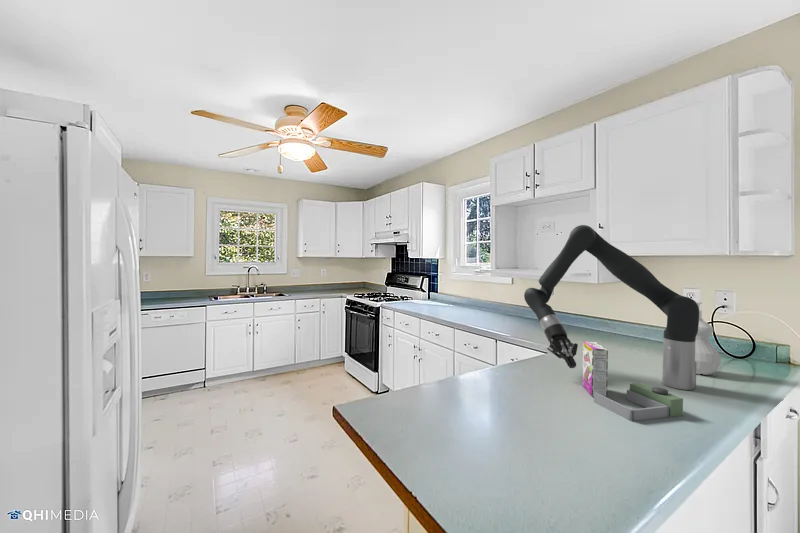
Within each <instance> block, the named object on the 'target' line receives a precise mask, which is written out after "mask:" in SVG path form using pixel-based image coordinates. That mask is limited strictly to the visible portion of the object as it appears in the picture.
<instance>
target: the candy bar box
mask: <svg viewBox="0 0 800 533" xmlns="http://www.w3.org/2000/svg"><path fill="white" fill-rule="evenodd" d="M608 353H609V349H607V348H606V347H604V346H603V345H601V344H600V343H598V342H596V341H582V380H581V381H582V383H581V385H582V387H583V388H584V389H585V390H586V392H587V393H588V394H589V396H591V397H592V398H594V393H598V394H600V395H602V396H605V397H607V398H608V369H609V367H608V364H609V362H608V361H609V360H608V358H609V356H608V355H609V354H608Z"/></svg>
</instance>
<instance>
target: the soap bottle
mask: <svg viewBox="0 0 800 533" xmlns="http://www.w3.org/2000/svg"><path fill="white" fill-rule="evenodd" d="M694 301H695V302H696V303H697V305H698V307H699V326H698V333H697V335H696V341H695V361H696V362H697V366H696V375H700V374H703V376H704V375H706V376H707V375H712V374H713V373H716V371H719V367H720V365H721V362H722V361H721V356H720V353H719V351H717V349H716V348H715V347H714V346H713V344H712V343H711V342H710V340H709V339H710V336H711V335H712V334H713V333H714V327H713V326H712V325H711V324H709V323H708V322H706V321H704V319H703V316H702V314H703V311H702V310H701V309H700V305H702V304H703V302H702V301H696V300H694Z"/></svg>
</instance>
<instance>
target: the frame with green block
mask: <svg viewBox="0 0 800 533" xmlns="http://www.w3.org/2000/svg"><path fill="white" fill-rule="evenodd" d="M626 400H629V401H630V402H633V403H635V404H637V405H639V406H640V407H641V406H642V408H630V407H628V406H625V405H623V404H621V403H619V402H618V401H615V400H612V399H611V398H609V397H608V396H607V397H605V396H602V395H600V394H598V393H594V397H593V402H594V403H595V404H597V405H599V406H601V407H602V408H605V409H607V410H609V411H610V412H613V413H615V414H616V415H619V416H621V417H623V418H624V419H626V420H628V421H631V422H636V421H645V420H653V419H654V420H655V419H664V418H672V417H680V416H683V415H684V414H683V413H684V398H682V397H680V396H677V395H674V394H672V393H669V390H668V389H666V388H663V387H659V386H650V385H649V384H646V383H643V382H634V383H629V389H626Z"/></svg>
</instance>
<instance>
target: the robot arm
mask: <svg viewBox="0 0 800 533" xmlns="http://www.w3.org/2000/svg"><path fill="white" fill-rule="evenodd" d="M585 251H586V252H587V253H589V254H590V255H592V256H594V257H595V258H596V260H598V261H599V262H600V263H601V264H602V265H603V267H605V269H606V270H608V272H610V273H611V275H613V276H614V277H615V278H616V279H618V280H619V281H621V282H622V283H623V284H625V285H626V286H628V287H629V288H630V289H632V290H634V291H635V292H637V293H639V294H641V295H642V296H643V297H645V298H647V299H648V300H649V301H650V302H652V304H654V305H655V306H656V307H657V308H658V309H660V311H662V313H663V314H665V316H667V318H666V328H665V329H664V330H663V344H662V345H663V347H662V376H661V377H662V379H661V381H662V382H661V383H662V384H663V385H664V386H667V387H670V388H672V389H673V388H674V389H677V390H683V391H684V390H686V391H691V390H695V388H696V387H697V374H696V366H697V362H696V361H695V341H696V335H697V333H698V326H699V310H700V308H699V307H698V305H697V303H696V302H697V301H696V300H695V299H693V298H691V297H687V296H683V295H681V294H679V293H677V292H675V291H674V290H672V289H670V288H668V287H667V286H666V285H664V284H663V283H662V282H661V281H659V280H658V278H657V277H655V275H654V274H653V273H652V272H651V271H650V270H649V269H648V268H647V267H646V266H644V265H643V264H642V263H640V262H639V260H636V259H635V258H633V257H632V256H630V255H628V254H627V253H626V252H624V251H623V250H621V249H619V248H618V247H616V246H614V245H612V244H611V243H609V242H608V241H607V240H605V238H603V237H602V236H601V235H600V234H599V233H598V232H597V231H596V230H594V228H593V227H591V226H589V225H586V224H580V225H578V226H575V227H574V228H573V229H571V231H570V234H569V236H568V239H567V241H566V242H565V245H564V246H563V248H562V249H561V251H560V252H559V254H558V255H557V256H556V257H555V259H553V261H552V262H551V263H550V264H549V266H548V267H547V268H546V270H545V271H544V272H543V273H542V274H541V276H540V277H539V279H538V283H539V285H540V286H541V287H540V288H539V289H538V288H535V287H528V288H527V289H526V290H525V291H524V293H523V294H524V295H523V296H524V301H525V303H526V304H527V306H528V307H529V309H530V310H531V311H532V312H533V313H534V314H535V315H536V317H537V320H538V322H539V323H540V324H539V325H540V327H541V328H542V331H543V333H544V335H545V337H546V338H547V341H548V343H549V346H548V347H547V348H546V349H547V350H548V351H549V352H551V354H553V355H555V356H556V357H557V358H558V359H562V360H564V362H565V363H566V365H567V366H568V368H569V369H575V368H576V367H577V363H576V360H575V359H574V356H576V355H577V351H578V346H579V344H578V343H573V342H571V340H570V339H569V338H568V332H567V331H566V329H565V328H564V325H563V324H562V322H561V321H560V319H559V317H558V316H557V315H556V312H555V311H554V309H553V308H552V307H551V306H550V305H549V304H547V303H548V302H549V301H550V299H551V296H553V293H554V289H555V287H556V286H557V285H558V284H559V282H560V281H561V280H562V278H563V277H564V276H565V274H566V273H567V271H568V270H569V268H571V266H572V264H574V262H575V261H576V260H577V259H578V257H580V256H581V255H582V254H583V253H584V252H585ZM695 301H696V302H695Z"/></svg>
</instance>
